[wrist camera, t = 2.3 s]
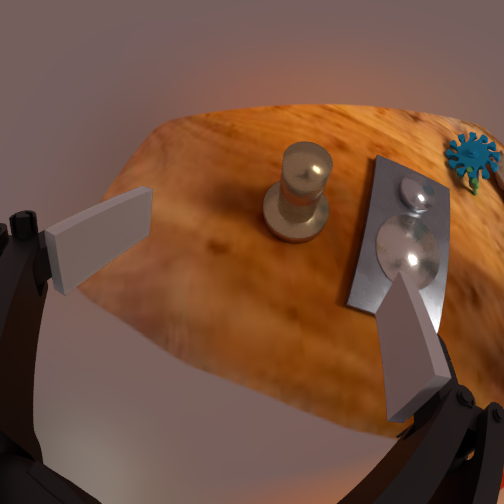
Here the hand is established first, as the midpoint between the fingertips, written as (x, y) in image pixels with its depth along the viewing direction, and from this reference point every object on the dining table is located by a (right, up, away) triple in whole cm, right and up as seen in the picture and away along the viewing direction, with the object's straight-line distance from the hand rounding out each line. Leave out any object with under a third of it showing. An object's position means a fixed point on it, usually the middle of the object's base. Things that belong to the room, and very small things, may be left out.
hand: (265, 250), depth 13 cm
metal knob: (+4, +4, +17) cm, 18 cm away
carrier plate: (+18, +1, +16) cm, 24 cm away
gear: (+33, +13, +19) cm, 41 cm away
